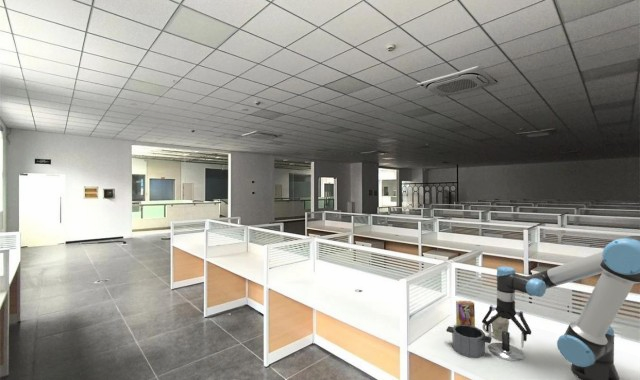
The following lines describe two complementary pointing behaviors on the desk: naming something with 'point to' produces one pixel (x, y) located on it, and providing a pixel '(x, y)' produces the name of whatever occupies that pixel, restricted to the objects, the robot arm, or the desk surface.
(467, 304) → the candy box
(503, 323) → the mug
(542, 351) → the desk surface
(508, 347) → the lid
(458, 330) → the pot
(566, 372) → the desk surface
